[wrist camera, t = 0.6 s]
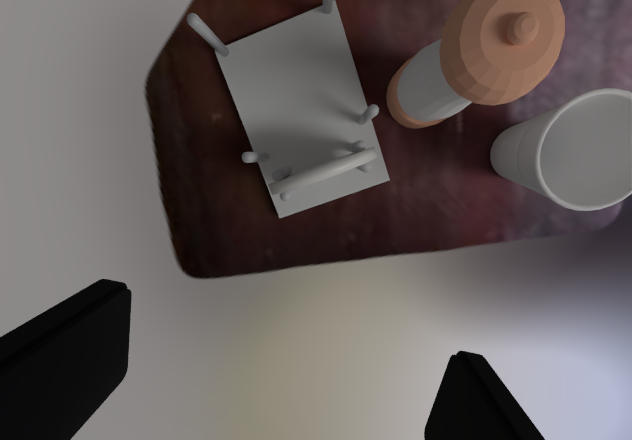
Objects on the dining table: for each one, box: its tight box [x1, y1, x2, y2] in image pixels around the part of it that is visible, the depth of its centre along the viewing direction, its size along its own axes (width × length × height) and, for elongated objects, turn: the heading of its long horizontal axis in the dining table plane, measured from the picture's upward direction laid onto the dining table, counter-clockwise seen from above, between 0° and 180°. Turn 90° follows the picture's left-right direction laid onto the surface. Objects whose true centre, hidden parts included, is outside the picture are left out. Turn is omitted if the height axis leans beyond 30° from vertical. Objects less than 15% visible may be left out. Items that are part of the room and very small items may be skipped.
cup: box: [490, 88, 632, 211], centre depth 30 cm, size 10×10×11 cm
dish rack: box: [187, 0, 390, 218], centre depth 29 cm, size 14×20×12 cm
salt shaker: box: [386, 0, 565, 129], centre depth 25 cm, size 7×7×19 cm
